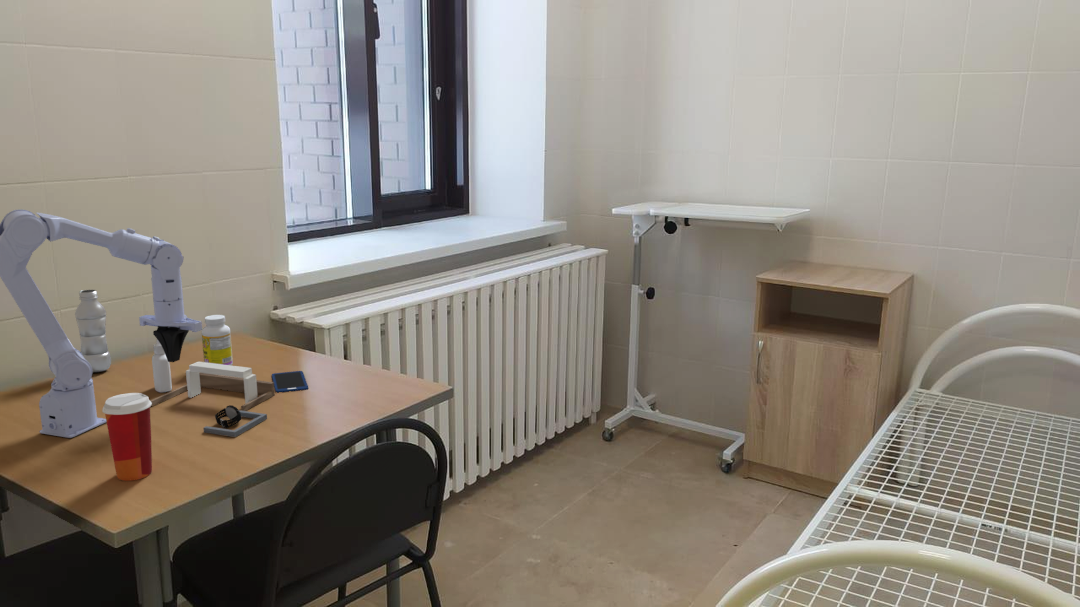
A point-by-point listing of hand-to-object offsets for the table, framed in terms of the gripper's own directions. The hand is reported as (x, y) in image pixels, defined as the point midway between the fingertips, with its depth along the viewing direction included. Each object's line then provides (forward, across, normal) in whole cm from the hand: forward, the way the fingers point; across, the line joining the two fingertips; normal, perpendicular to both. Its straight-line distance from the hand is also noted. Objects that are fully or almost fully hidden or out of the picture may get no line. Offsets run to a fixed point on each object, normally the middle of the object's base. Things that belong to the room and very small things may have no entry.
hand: (173, 360), depth 175 cm
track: (+10, -5, -3) cm, 12 cm away
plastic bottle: (+11, +35, -12) cm, 39 cm away
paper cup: (+11, -17, +30) cm, 36 cm away
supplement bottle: (+11, +10, -26) cm, 30 cm away
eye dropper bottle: (+11, +11, -8) cm, 17 cm away
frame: (+10, -18, +4) cm, 21 cm away
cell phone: (+11, -13, -22) cm, 28 cm away
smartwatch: (+9, -14, +5) cm, 17 cm away
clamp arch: (+10, -6, -7) cm, 14 cm away
